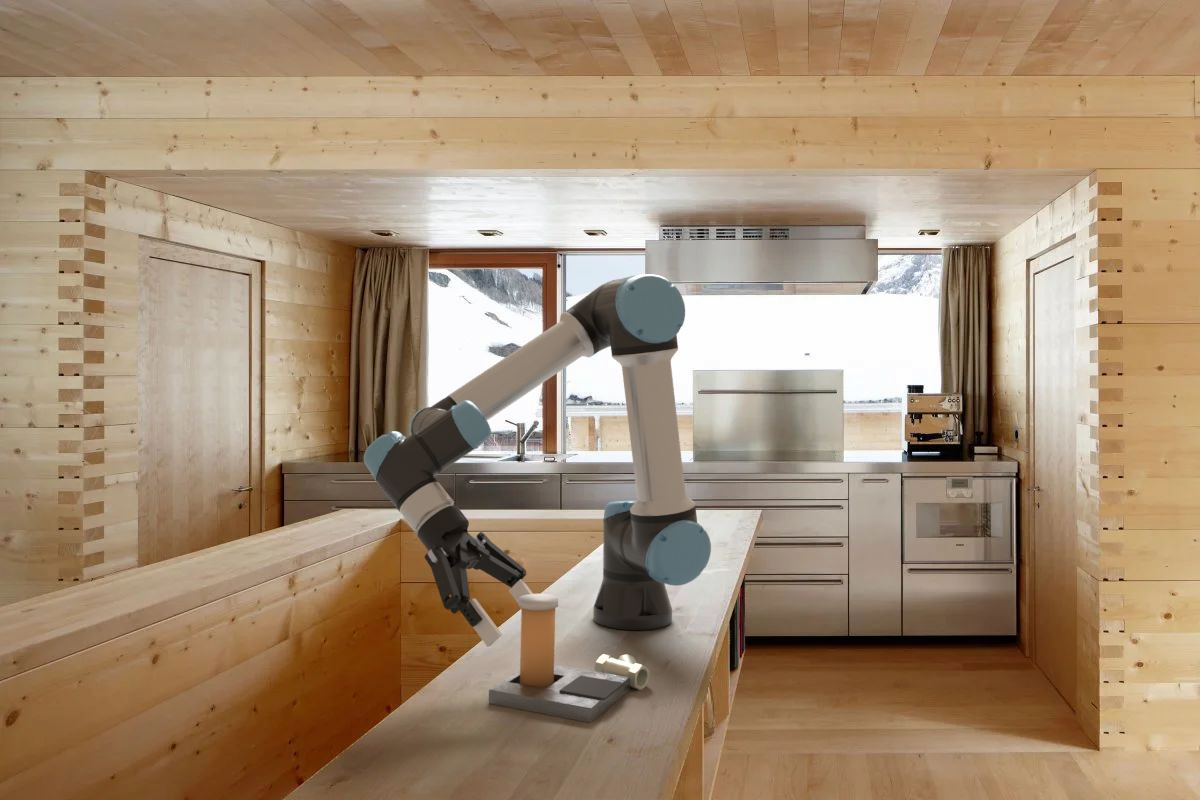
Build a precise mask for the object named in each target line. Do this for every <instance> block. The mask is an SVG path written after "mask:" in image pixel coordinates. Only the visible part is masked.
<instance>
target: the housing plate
mask: <svg viewBox="0 0 1200 800" xmlns="http://www.w3.org/2000/svg"><path fill="white" fill-rule="evenodd" d="M580 675H581V676H586V677H592V678H598V679H604V680H610V681H616V682H622V683H624V685H623V686H622V687H621V688H619V689H618V690H617V691H616V692H614V693H613V694H612V695H611V696H609V697H608V698H607V699H606V700H600V699H594V698H589V697H583V696H577V695H572V694H566V693H560V692H559V691H560V690H561V689H562V688H563V687H565V686H566V685H568V684H569V683H571V682H572V681H573V680H575V679H576V678H578V677H579V676H580ZM629 684H630V677H626V676H620V675H614V674H608V673H602V672H596V671H595V670H589V669H582V668H577V667H570V666H564V665H559V664H554V684H552V685H551V686H549V687H548V688H546V689H544V688H538V687H533V686H527V685H522V684H520V670H519V671H517V672H515V673H514V674H511V675H510V676H509V677H507V678H506V679H504V680H502V681H501V682H499V683H498V684H496V685H494V686H492V687H490V688H489V689H488V704H491V705H496V706H501V707H506V708H511V709H517V710H521V711H528V712H533V713H539V714H544V715H549V716H554V717H559V718H565V719H568V720H569V719H571V720H575V721H580V722H585V723H593V721H594V720H596V719H597V718H598V717H599V716H601V714H603V713H604V712H605V711H606V710H608V709H609V708H610V707H611V706H613V705H614V704H615V703H616V702H617V701H619V700H620V699H621V698H622V697H624V696H625V695H626V694H627V693H628V692H629V691H630V688H631V687H630V685H629Z"/></svg>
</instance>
